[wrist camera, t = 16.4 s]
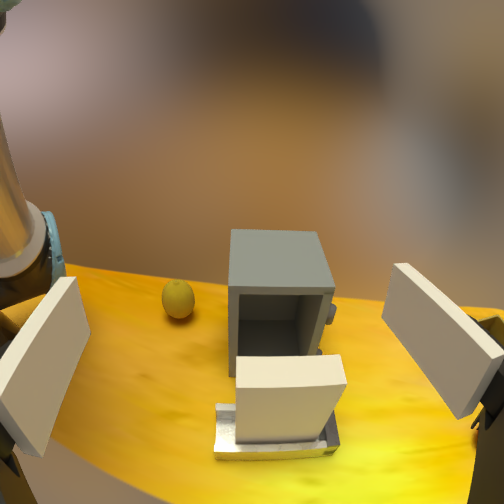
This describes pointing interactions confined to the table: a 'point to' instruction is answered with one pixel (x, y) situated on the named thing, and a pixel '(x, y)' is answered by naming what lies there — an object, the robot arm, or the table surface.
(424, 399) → the table surface
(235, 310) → the cabinet
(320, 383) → the door
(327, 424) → the drawer
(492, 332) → the flower pot
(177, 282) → the lemon
